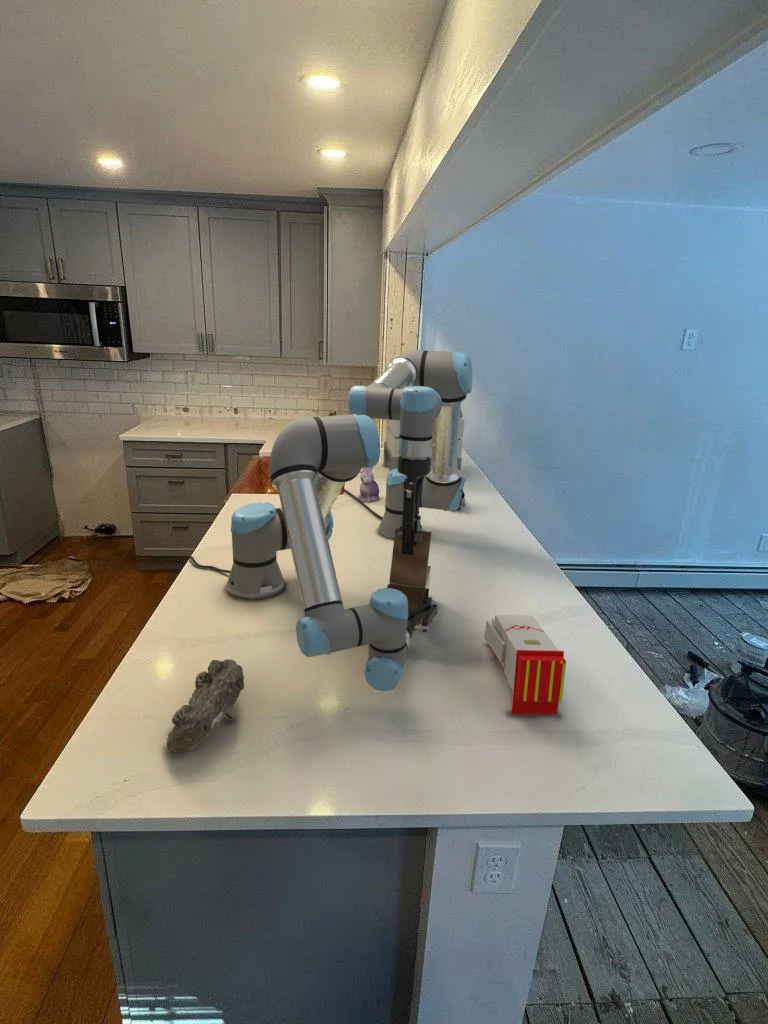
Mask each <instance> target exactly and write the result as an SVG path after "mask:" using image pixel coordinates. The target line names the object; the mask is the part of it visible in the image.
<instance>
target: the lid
mask: <svg viewBox="0 0 768 1024" xmlns="http://www.w3.org/2000/svg"><path fill="white" fill-rule="evenodd" d="M402 536H403V530H402V529H399V528H395V537H394V539H393V546H392V554H391V555H392V556H391V562H390V563H391V565H390V572H389V580H388V583H390V582H393V583H401V584H410V585H418V586H426V578H427V569H428V566H429V558H430V551H431V550H430V549H431V539H432V531H426V530H422V531H418V530H417V534H414V542H416V546H414V548H413V555H406V554H401V553H402Z"/></svg>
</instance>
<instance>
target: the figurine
mask: <svg viewBox="0 0 768 1024" xmlns="http://www.w3.org/2000/svg"><path fill="white" fill-rule="evenodd" d="M373 468H374V467H370V468H368V467H365V468H361V470H362V473H361V475H360V481H361V484H360V486H359V496H358V499H359V500H360V501H362V502H364V503H365V502H366V503H368V502H375V501H376V500H378V499H379V495H380V488H379V485H378V482H377V481H375V475H374V473H373Z"/></svg>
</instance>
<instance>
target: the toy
mask: <svg viewBox="0 0 768 1024" xmlns="http://www.w3.org/2000/svg"><path fill="white" fill-rule="evenodd" d="M494 615H495V616H494V617H491V622H490V620H485V621H486V622H485V630H484V640H485V641H486V642H487V646H488V647H489V649H490V651H491V652H492V654H493V656H494V657H495V659H496V661H497V663H498V665H499V667H500V668H501V670H502V671H503V674H504V676H505V678H506V680H507V682H508V684H509V686H510V689H511V690H512V701H511V712H510V713H511V714H512V715H556V716H558V715H559V714H558V713H559V705H560V703H562V702H563V695H564V694H563V693H564V686H565V685H564V683H565V677H566V676H565V675H566V667H567V666H566V665H567V660H566V658H564V656H565V651H564V650H559V649H558V648H557V646H556V645H555V644H554V642H553V641H552V640H551V638H550V637H549V636H548V634H547V633H546V631H544V629H543V628H542V626H541V625H540V623H539V622H538V620H536V618H535V617H534V615H531V614H530V615H527V614H526V615H523V614H519V615H518V614H494Z"/></svg>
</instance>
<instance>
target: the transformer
mask: <svg viewBox="0 0 768 1024" xmlns="http://www.w3.org/2000/svg"><path fill="white" fill-rule="evenodd" d="M385 423H386V428H385V438H384V442H383V466H384V467H388V468H389V472H390V471H391V470H393V469H396V468H398V457H399V456H400V455H399V454H398V446H399V435H400V421H399V420H388V419H385ZM464 429H465V419H464V418H463V411H462V409H461V410H460V426H459V442H458V458H457V469H459V470H460V472H462V461H463V460H462V453H463V442H464V441H463V440H462V439H463V438H464V431H465V430H464ZM431 443H432V442H431ZM431 450H432V447H431ZM429 457H430V459H431V455H430V456H429Z"/></svg>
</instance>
